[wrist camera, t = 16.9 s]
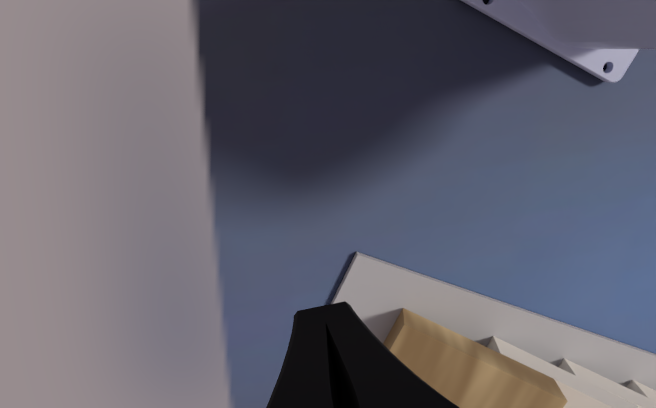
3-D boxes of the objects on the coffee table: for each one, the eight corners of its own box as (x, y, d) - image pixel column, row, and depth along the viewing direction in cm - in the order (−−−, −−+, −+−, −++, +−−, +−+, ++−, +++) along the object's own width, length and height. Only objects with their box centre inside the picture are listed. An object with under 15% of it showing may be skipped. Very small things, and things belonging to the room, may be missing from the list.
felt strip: (290, 384, 24) (291, 388, 24) (356, 251, 22) (357, 254, 21) (672, 474, 33) (676, 478, 32) (749, 386, 30) (754, 389, 30)
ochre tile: (364, 395, 23) (517, 469, 22) (404, 324, 21) (567, 401, 21) (365, 374, 24) (508, 443, 24) (403, 307, 23) (553, 378, 23)
